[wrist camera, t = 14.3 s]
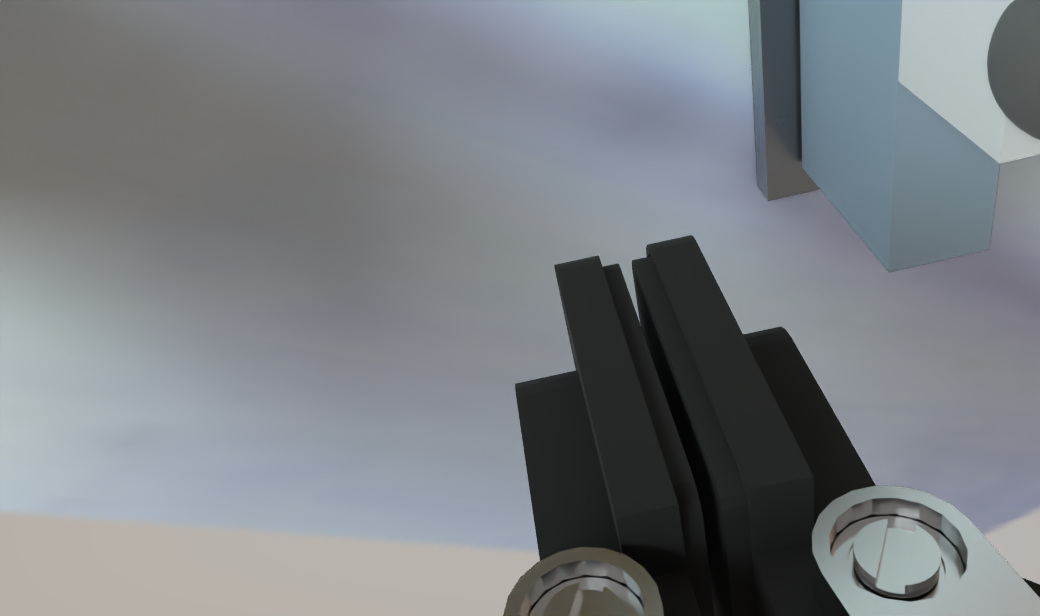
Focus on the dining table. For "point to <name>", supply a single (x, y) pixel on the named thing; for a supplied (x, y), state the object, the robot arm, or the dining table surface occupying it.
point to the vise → (777, 97)
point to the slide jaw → (918, 116)
